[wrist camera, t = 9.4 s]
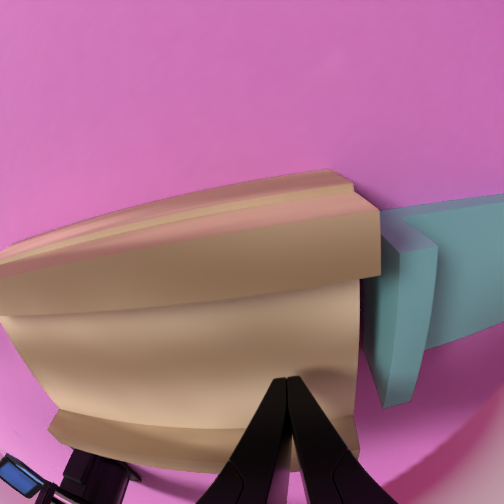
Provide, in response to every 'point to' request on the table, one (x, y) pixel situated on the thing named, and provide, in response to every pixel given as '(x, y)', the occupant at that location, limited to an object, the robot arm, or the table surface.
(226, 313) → the tan curved flanged bracket
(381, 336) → the cover plate
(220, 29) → the table surface
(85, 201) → the table surface
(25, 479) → the handheld game console
